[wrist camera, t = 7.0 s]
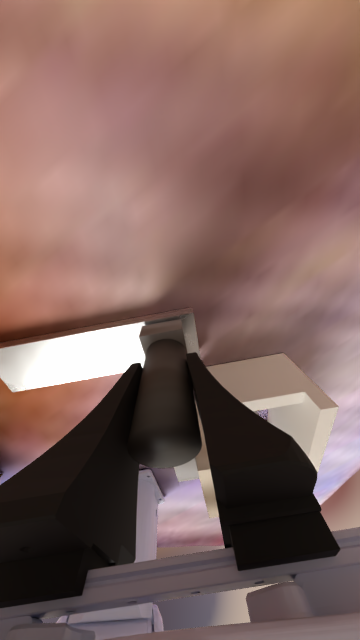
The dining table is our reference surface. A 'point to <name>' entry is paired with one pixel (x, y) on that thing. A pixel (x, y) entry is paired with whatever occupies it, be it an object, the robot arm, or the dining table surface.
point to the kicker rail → (84, 351)
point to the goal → (282, 399)
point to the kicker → (169, 411)
